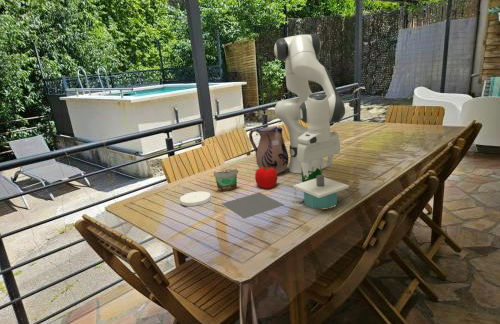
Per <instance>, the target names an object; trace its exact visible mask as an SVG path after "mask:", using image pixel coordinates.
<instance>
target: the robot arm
mask: <svg viewBox="0 0 500 324" xmlns="http://www.w3.org/2000/svg"><path fill="white" fill-rule="evenodd" d="M321 48H322V43H321V39H320V36H319V35H318V34H314V33H309V34H296V35H291V36H287V37H281V38H278V39H277V40H276V41H275V44H274V47H273V52H274V55H275V57H276V59H277V60H278V61H281V62H285V65H284V66H285V67H284V70H285V82H286V83H285V85H286V89H287V91H289V92H291V93H293V94H295V95H297V97H298V98H293V99H292V98H290V99H282V100H279V101H278V102H277V103H276V104H275V107H274V114H275V117H276V118H277V119H278V120H280V121H281V122H282V123H283V125H285V127H286V128H287V130H288V131H287V132H288V135H289V154H290V157H289V158H290V159H289V165H288V171H289V172H290V173H294V174H302V170H301V162H302V163H306V164H307V166H308V170H309V171H314V167H313V166H312V165H311V163H312V161H313V160H317V159H320V158H321V170H323V169H326V168H328V167H330V166H332V161H333V159H334V155H337V154H339V153H340V152H341V143H340V138H339V137H340V136H339V133H338V132H337V131H332V132H331V125H330V123H338V122H340V121H341V120H342V119H343V118H344V117H345V116H346V115H345V114H346V107H345V106H346V105H345V104H344V101H343V99H342V98H341V96H340V95H339V93H338V90H337V88H336V85H335V83H334V81H333V78H332V76H331V74H330V72H329V70H328V69H327V66H325V65H323V64H322V63H320V62H319V60H318V59H317V56H318V55H319V54H320V52H321ZM310 81H311V82H314V83H317V84H318V85H320V86H321V87H322V89H323V91H324V93H320V92H318V93H315V92H314V93H313V92H312V90H311V88H310V84H309V82H310ZM299 120H300V121H301V122H303V123H304V124H307V127H306V126H304V124H303V125H302V124H301V123H300V122H299ZM326 157H327V160H326V161H325V162H324V158H326Z"/></svg>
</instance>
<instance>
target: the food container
mask: <svg viewBox="0 0 500 324" xmlns="http://www.w3.org/2000/svg"><path fill="white" fill-rule="evenodd" d="M238 174H239V171H238V168H237V167H236V168H235V169H232V170H231V169H230V170H229V169H228V170H222V171H220V172H216V171H214V172H213V177H214V178H215V181H216V186H217V190H218V191H219V192H222V193H224V192H231V191H234V190H236V189H237V188H238V185H237V179H238Z"/></svg>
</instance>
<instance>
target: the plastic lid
mask: <svg viewBox="0 0 500 324" xmlns="http://www.w3.org/2000/svg"><path fill="white" fill-rule="evenodd" d="M211 199H212V197H211V193H210V192H208V191H191V192H188V193H185V194H183V195H181V196H180V198H179V202H180V204H181V205H182V206H184V207H193V206H194V207H195V206H200V205H204V204H206V203H208V202H209V201H210V200H211Z"/></svg>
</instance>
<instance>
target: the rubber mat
mask: <svg viewBox="0 0 500 324" xmlns="http://www.w3.org/2000/svg"><path fill="white" fill-rule="evenodd" d="M221 205H222V206H224V207H225V208H227V209H229V210H230V211H231V212H233V213H234V214H235V215H238V216H239V217H241V218H242V219H248V218H249V217H253V216H256V215H260V214H262V213H264V212H268V211H270V210H274V209H276V208H280V207H282V206H285V204H283V203H282V202H280V201H279V200H278V201H277V200H276V199H274V198H272V197H270V196H267V195H265V194H263V193H261V192H255V193H252V194H249V195H245V196H242V197H238V198H235V199H232V200H230V201H226V202H222V203H221Z"/></svg>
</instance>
